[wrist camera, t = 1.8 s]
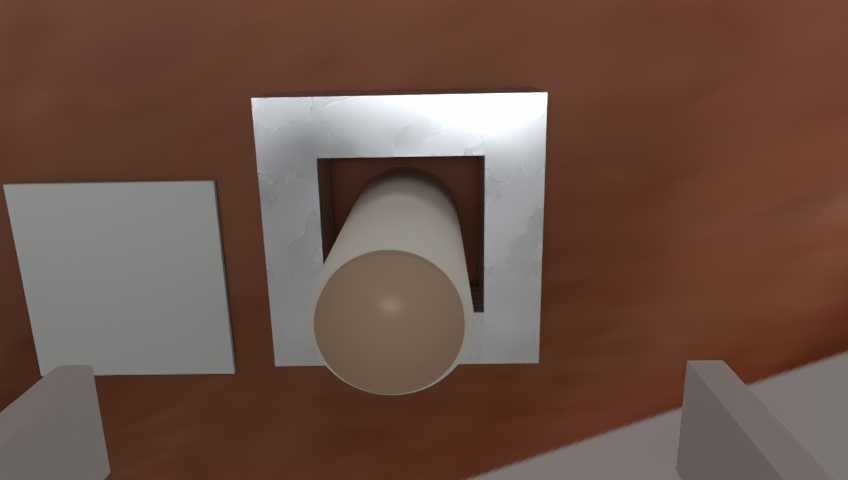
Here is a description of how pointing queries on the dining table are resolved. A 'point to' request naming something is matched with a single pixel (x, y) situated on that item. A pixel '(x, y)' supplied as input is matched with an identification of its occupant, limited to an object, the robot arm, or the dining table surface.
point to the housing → (406, 137)
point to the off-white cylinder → (394, 288)
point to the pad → (124, 275)
